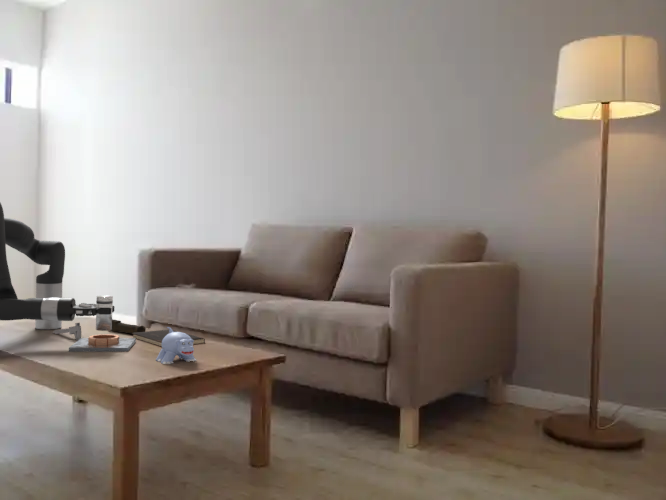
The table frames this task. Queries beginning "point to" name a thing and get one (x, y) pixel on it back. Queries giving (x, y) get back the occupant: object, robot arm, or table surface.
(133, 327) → the hand tool
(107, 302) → the steel piston
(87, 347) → the grey square base plate
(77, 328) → the caliper
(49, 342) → the table surface
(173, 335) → the hippopotamus toy
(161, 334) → the hardcover book
